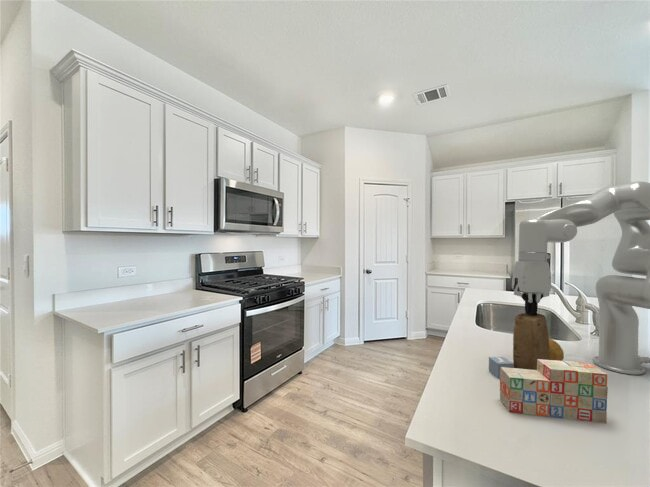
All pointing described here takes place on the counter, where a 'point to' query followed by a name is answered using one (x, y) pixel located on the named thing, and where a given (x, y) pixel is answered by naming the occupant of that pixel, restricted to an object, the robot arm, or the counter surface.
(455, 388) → the counter surface
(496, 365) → the alphabet block
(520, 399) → the stack of blocks
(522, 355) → the brown rock
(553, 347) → the potato
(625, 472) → the counter surface
